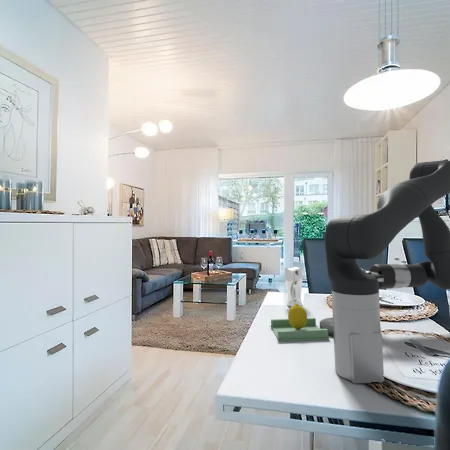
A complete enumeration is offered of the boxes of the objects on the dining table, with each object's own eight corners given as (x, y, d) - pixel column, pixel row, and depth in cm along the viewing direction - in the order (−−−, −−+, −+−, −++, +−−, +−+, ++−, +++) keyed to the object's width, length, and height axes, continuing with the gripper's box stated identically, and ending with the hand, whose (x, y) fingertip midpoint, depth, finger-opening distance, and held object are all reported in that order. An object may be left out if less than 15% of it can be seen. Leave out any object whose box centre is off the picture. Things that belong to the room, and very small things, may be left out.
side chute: (329, 339, 84) (328, 330, 84) (278, 341, 84) (278, 332, 84) (314, 324, 97) (313, 317, 98) (270, 326, 97) (270, 318, 97)
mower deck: (379, 337, 84) (379, 330, 84) (329, 339, 84) (329, 332, 84) (357, 322, 98) (356, 316, 98) (313, 324, 98) (313, 318, 98)
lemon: (308, 334, 88) (307, 306, 88) (288, 333, 89) (287, 306, 89) (307, 328, 93) (305, 301, 93) (288, 327, 94) (287, 301, 94)
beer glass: (282, 304, 126) (281, 268, 126) (297, 302, 128) (296, 267, 128) (291, 308, 119) (289, 270, 120) (306, 306, 121) (305, 268, 122)
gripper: (376, 262, 101) (328, 263, 100) (404, 266, 87) (349, 267, 86) (376, 284, 101) (329, 286, 100) (405, 292, 86) (350, 294, 85)
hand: (338, 277), depth 93 cm, fingers open, 8 cm apart
